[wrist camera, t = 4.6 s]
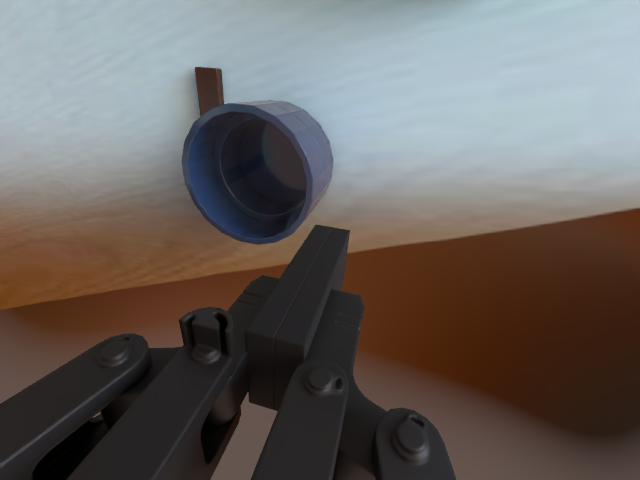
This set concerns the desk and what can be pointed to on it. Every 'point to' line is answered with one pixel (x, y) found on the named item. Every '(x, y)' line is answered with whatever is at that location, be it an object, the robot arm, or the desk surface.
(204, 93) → the strip
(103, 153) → the desk surface
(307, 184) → the bowl
